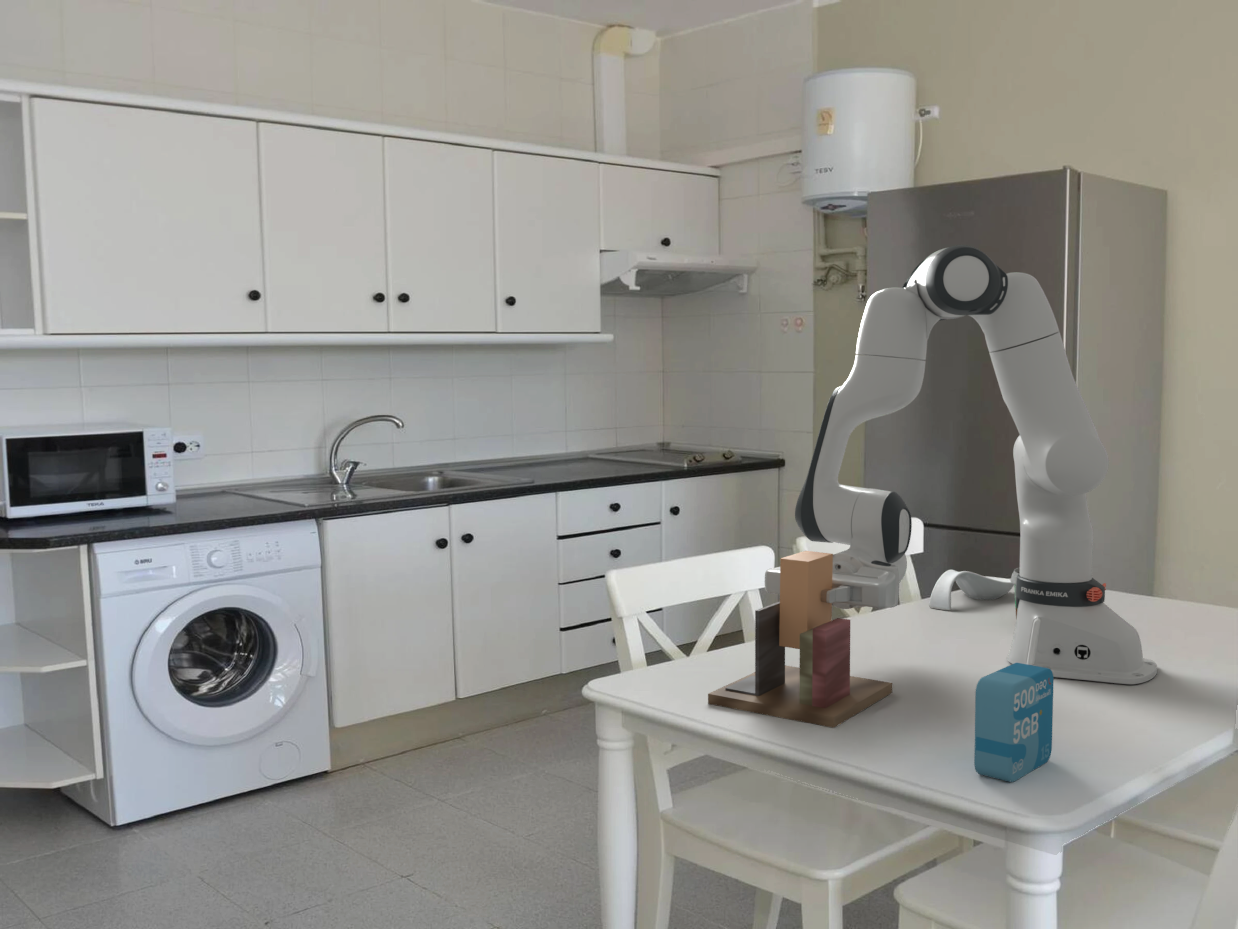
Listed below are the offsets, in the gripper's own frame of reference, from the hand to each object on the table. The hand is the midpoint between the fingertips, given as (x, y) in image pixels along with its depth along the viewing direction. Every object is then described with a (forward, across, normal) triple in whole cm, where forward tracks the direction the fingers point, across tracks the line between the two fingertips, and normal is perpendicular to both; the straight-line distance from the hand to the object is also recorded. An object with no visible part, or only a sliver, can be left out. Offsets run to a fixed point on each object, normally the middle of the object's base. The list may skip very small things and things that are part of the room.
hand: (806, 594), depth 178 cm
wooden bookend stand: (+2, 0, +15) cm, 15 cm away
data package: (+14, +35, +15) cm, 41 cm away
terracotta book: (0, 0, +7) cm, 7 cm away
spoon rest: (-78, -2, +15) cm, 79 cm away
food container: (-64, +13, +15) cm, 67 cm away
